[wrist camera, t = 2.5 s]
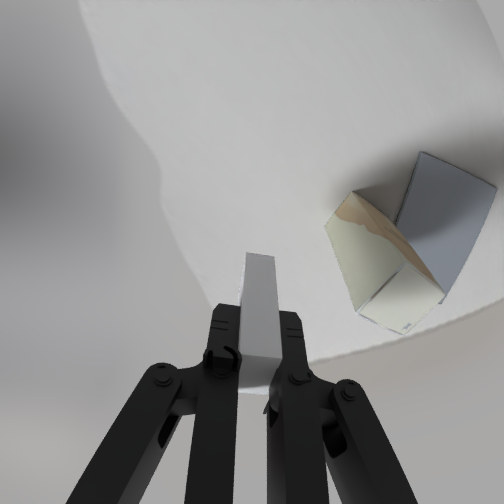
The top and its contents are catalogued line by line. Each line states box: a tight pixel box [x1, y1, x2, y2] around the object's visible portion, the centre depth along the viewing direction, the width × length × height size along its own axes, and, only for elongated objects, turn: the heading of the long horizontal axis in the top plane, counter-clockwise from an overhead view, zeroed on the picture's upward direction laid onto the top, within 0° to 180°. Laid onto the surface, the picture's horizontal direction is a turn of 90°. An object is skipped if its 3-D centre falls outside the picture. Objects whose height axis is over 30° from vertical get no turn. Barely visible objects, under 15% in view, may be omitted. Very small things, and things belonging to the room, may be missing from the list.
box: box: [325, 192, 446, 336], centre depth 19 cm, size 5×4×11 cm
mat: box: [395, 152, 497, 304], centre depth 24 cm, size 16×12×1 cm
